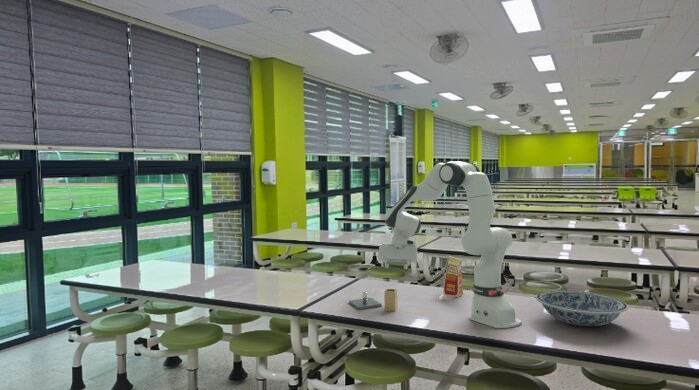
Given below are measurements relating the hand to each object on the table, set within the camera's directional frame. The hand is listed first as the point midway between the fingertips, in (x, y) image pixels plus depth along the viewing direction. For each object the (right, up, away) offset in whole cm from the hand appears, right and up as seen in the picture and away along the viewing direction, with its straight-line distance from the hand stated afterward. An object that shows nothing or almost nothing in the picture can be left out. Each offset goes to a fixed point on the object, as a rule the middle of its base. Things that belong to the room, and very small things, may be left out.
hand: (395, 268), depth 227 cm
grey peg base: (-15, -17, -3) cm, 23 cm away
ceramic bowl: (+73, -18, -35) cm, 83 cm away
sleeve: (-3, -18, -11) cm, 21 cm away
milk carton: (+31, -16, +12) cm, 37 cm away
